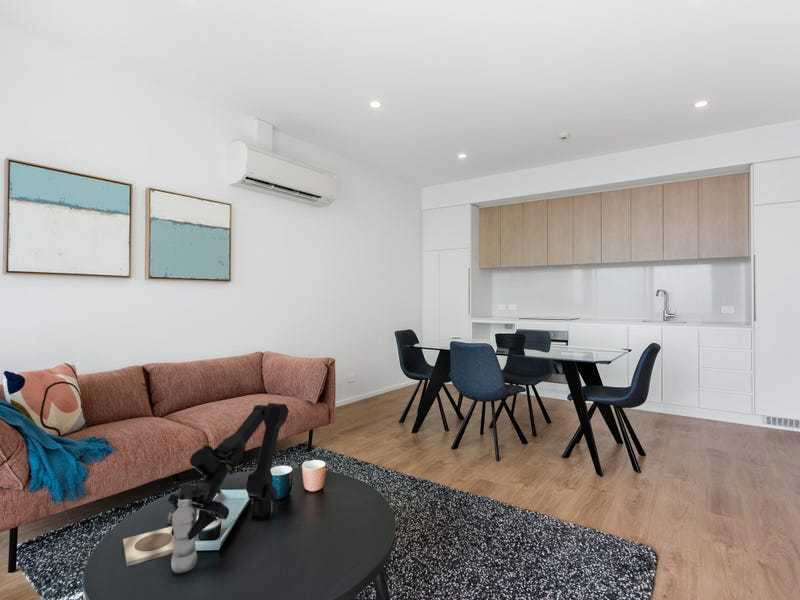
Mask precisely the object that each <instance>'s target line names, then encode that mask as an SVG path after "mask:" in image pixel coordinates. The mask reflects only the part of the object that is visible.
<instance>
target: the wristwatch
mask: <svg viewBox="0 0 800 600" xmlns="http://www.w3.org/2000/svg"><path fill="white" fill-rule="evenodd" d="M175 511H176V510H175V507H173V508H172V509H171V510H170V511H169V513H168V515H167V523H168V524H170V525H173V524H172V521H171V520H172V518H173V515H174V513H175Z"/></svg>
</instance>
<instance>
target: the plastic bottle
mask: <svg viewBox="0 0 800 600" xmlns="http://www.w3.org/2000/svg"><path fill="white" fill-rule="evenodd" d="M192 503H193V497H186V496H185V495H183V496H180V497H179V498H178V506H179V507H178V509H177V510H176V511H175V513H174V515H173V516H172V517H171V522H172V524H171V525H172V526H173V531H174V548H173V553H172V555H171V560H170V561H171V562H170V565H171V570H172V571H173V573H175V574H183V573H187V572H189V571H191V570H192V569H194V567H195V566H196V563H197V559H198V554H197V553H198V552H197V549H196V536H195V537H194V538H193V539H192V540H189V539H188V537H189V534H190V532H191V530H192V529H193V527H194V525H195V523H196V521H197V519H198V510H197V509H195V507H194V506H193V505H192Z"/></svg>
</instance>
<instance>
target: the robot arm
mask: <svg viewBox="0 0 800 600" xmlns="http://www.w3.org/2000/svg"><path fill="white" fill-rule="evenodd" d="M288 415H289V408H288V405H287V404H285V403H277V402H269V403H268V404H257V405H254V407H253V410H252V411H251V412H250V414H249V415H248V416H247V417H246V419H245V420H244V421H243V423H241V425H240V426H239V428H237V430H236V431H235V432H234V433H233V434H231V435H229V436H228V437H226V438H225V439H223V440H222V441H221V442H220V443H219V444H218V445H217V447H215V448H213V447H212V446H211V445H208V444H205V445H203V447H202V448H199V449H198V450H196V451H195V452H194V453H193V454H192V455H191V457H190V459H189V463H190V465H191V466H192V468H194V469H195V470H196V471H198V472H199V473H200V474H201V475H203V478H202V479H201V480H200V479H198V480H197V482H196V483H195V484H194V483H185V482H182V484H181V487H180V490H179V492H173V493H171V494H170V495H169V497H168V499H167V500H166V501H167V503H169V504H170V505H172V507H173V508H175V510H177V509H178V507H179V506H178V498H179V497H180V496H183V495H185V496H186V497H193V503H192V505H193V506H194V507H195V509H196V510H198V516H197V521H196V523H195V525H194V527H193V529H192V530H191V532H190V534H189V537H188V539H189V540H192V539H193V538H194V537H195V538H196V536H197V535H198V534H200V533H201V532H202V531H203V530H204V529H205V528H207V527H208V526H210V525H211V524H212V523H214V522H217V521H218V519H221V520H225V521H227V519H228V517H229V515H230V508H229V507H227V506H226V505H225V504H223V502H220V501H215V500H214V499H215V498H216V496H217V495H220V494H221V492H222V490H221V489H220V488H221V486H222V485H223V483H224V481H225V479H226V478H227V476H228V475H231V476H233V474H234V472H233V469H232V467H233V466H232V465H230V464H235V463H236V464H237V463H238V462H239V461H240V460H241V459H242V458H243V457H242V456H244V454H245V452H246V447H247V446H246V444H247V443H248V441H249V440H250V438H251V437H252V436H253V434H254V433H255V432H257V429H258V428H260V426H261V424H262V423H264V425H265V428H264V429H265V430H264V434H263V437H262V441H261V446H260V449H259V450H260V451H259V455H258V459H257V464H256V468H255V470H254V471H253V472H252V473H249V474H248V476H247V482H246V484H245V486H246V488H245V491H246V492H247V497H248V499H249V500H250V499H251V500H252V501H251V503H250V504H251V506H250V517H251V521H262V520H271V519H272V516H273V513H274V509H273V502H274V501H275V499H276V498H277V497H278V490H277V489H276V488H275V486H273V484H274V483H273V482H274V478H273V475H272V465H273V460H274V455H275V451H276V447H277V442H278V437H279V433H280V429H281V428H282V427H283V425H284V424H285V423H286V420H287V419H288ZM226 463H230V464H229V465H228V464H226ZM171 535H173V536H174V531H173V528H172V532H171Z"/></svg>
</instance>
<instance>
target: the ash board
mask: <svg viewBox="0 0 800 600" xmlns="http://www.w3.org/2000/svg"><path fill="white" fill-rule="evenodd" d="M172 528H173V525H172V526H168V527H163V528H161V529H157V530H152V531H149V532H148V531H147V532H145V533H140V534H137V535H133V536H130V537H126V538H123V539H122V545H123V551H124V560H125V565H126V567H130V566H133V565H136V564H140V563H143V562H146V561H151V560H154V559H157V558H160V557H164V556H168V555H171V554H173V548H174V536H173V535H171V532H172Z"/></svg>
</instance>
